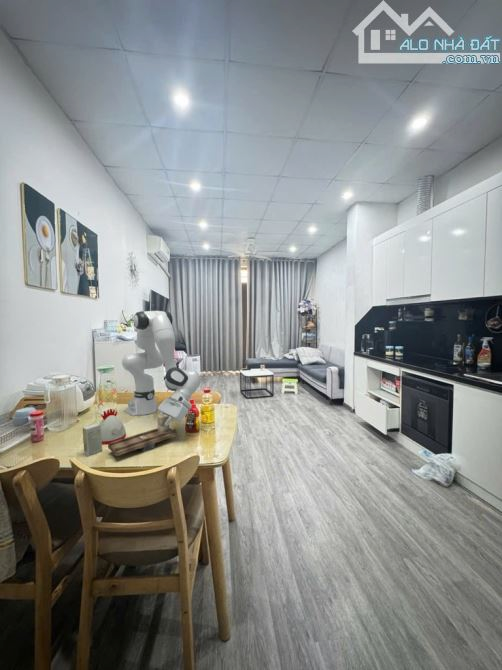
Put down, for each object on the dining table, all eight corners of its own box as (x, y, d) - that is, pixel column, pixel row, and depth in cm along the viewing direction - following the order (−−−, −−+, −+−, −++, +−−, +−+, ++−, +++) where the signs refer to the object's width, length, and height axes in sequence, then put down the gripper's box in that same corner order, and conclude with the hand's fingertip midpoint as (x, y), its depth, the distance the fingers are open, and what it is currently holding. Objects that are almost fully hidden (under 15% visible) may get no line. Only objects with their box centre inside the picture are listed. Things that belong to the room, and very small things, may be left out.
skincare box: (98, 448, 122) (97, 422, 121) (102, 451, 119) (101, 424, 119) (83, 453, 117) (82, 426, 117) (86, 456, 114) (85, 429, 114)
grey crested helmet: (88, 441, 130) (87, 411, 129) (114, 431, 142) (113, 403, 141) (106, 447, 123) (105, 415, 123) (131, 435, 135) (130, 407, 135)
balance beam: (166, 433, 137) (166, 424, 137) (177, 440, 129) (177, 430, 129) (108, 453, 117) (107, 442, 117) (117, 462, 109) (116, 450, 109)
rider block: (165, 429, 133) (164, 414, 132) (169, 431, 130) (168, 415, 129) (157, 432, 130) (157, 416, 129) (161, 434, 127) (161, 418, 127)
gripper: (165, 392, 141) (148, 415, 135) (185, 400, 127) (167, 425, 120) (173, 399, 145) (156, 421, 138) (194, 407, 130) (176, 432, 124)
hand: (162, 423), depth 129 cm, fingers open, 5 cm apart
